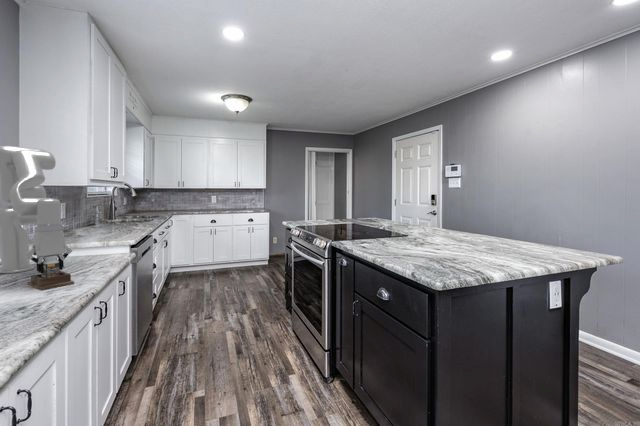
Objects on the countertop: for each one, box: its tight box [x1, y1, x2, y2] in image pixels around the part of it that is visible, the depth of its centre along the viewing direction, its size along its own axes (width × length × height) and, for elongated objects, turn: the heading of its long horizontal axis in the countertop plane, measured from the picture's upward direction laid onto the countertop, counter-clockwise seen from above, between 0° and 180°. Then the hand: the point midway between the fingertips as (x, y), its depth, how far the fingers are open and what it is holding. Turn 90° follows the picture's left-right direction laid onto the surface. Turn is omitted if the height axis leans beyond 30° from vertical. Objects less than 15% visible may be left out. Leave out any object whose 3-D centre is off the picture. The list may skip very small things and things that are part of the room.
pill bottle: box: [41, 255, 61, 278], centre depth 130 cm, size 6×6×10 cm
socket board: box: [27, 270, 75, 291], centre depth 130 cm, size 14×11×4 cm
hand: (50, 270), depth 130 cm, fingers closed on pill bottle, 5 cm apart
